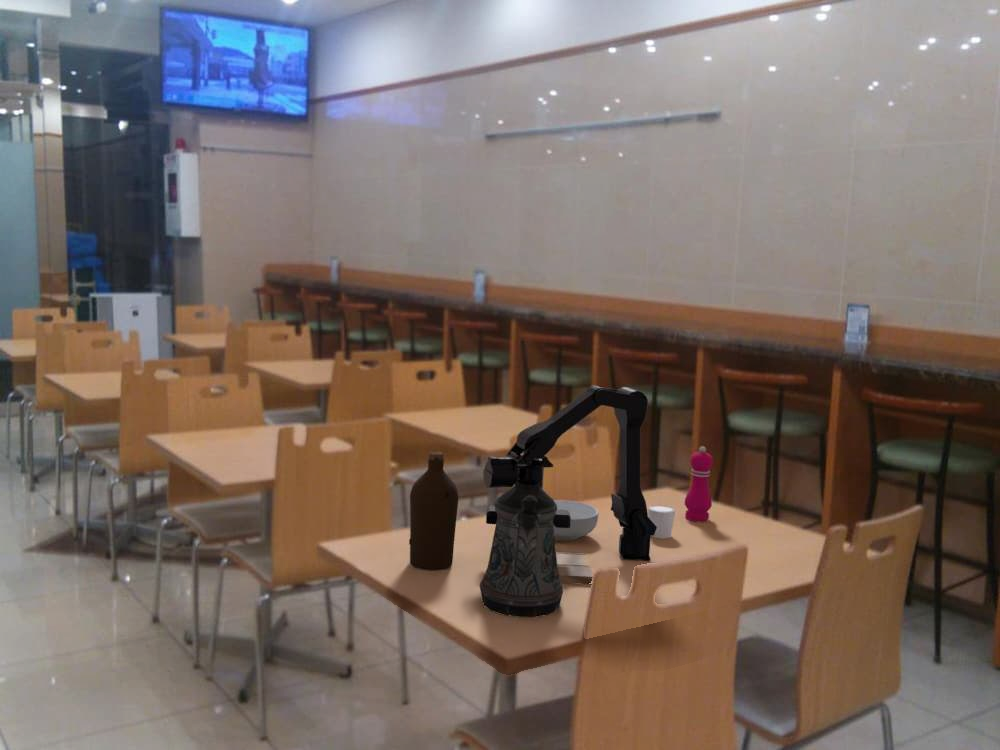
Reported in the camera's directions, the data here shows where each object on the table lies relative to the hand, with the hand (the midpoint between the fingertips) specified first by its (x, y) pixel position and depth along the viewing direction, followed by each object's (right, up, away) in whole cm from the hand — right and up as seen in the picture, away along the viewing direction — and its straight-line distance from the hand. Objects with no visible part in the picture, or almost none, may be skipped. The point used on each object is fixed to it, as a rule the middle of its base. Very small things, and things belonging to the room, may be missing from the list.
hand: (525, 554), depth 226 cm
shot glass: (+35, -1, +28) cm, 45 cm away
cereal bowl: (+10, 0, +23) cm, 25 cm away
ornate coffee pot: (-1, -6, -26) cm, 27 cm away
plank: (+5, -2, -1) cm, 5 cm away
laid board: (+5, -3, -8) cm, 10 cm away
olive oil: (-21, -2, -4) cm, 22 cm away
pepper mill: (+48, +1, +46) cm, 67 cm away
